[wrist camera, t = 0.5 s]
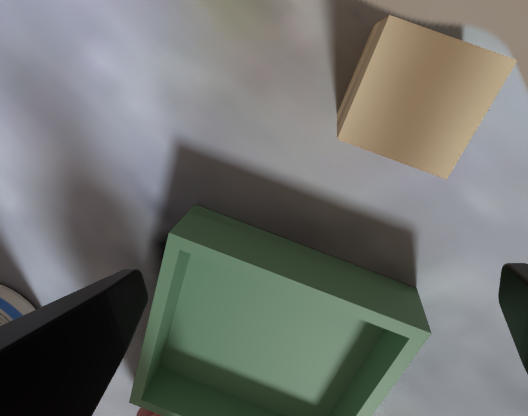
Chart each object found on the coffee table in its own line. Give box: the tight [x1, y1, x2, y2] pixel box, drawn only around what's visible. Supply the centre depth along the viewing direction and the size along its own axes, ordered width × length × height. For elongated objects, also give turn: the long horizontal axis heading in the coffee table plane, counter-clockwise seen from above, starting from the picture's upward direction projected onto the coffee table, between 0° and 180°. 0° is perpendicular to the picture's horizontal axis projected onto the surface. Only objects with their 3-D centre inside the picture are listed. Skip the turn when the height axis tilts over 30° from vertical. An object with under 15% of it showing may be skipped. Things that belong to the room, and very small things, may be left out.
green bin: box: [129, 204, 431, 416], centre depth 25 cm, size 15×15×4 cm
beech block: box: [337, 15, 517, 179], centre depth 16 cm, size 4×4×6 cm
